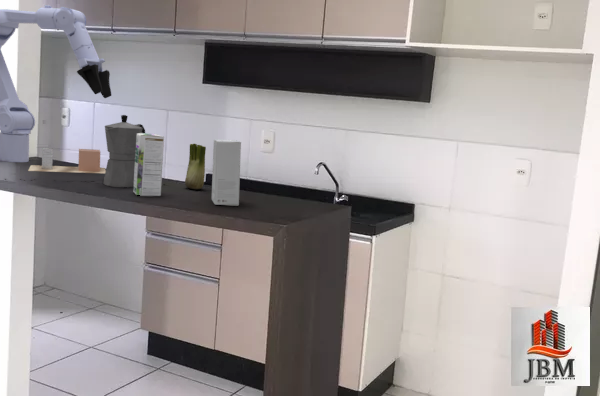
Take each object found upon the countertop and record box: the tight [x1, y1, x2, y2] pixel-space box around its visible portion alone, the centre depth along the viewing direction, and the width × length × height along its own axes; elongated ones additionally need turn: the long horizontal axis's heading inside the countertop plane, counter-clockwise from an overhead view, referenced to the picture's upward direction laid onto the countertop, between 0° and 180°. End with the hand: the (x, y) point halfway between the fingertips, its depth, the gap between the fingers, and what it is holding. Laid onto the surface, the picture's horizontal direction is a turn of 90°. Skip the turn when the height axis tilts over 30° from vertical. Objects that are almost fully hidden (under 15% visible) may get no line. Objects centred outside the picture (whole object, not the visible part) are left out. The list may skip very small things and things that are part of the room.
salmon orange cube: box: [77, 148, 101, 172], centre depth 175 cm, size 6×6×6 cm
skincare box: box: [211, 139, 242, 207], centre depth 145 cm, size 8×6×15 cm
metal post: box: [41, 147, 54, 169], centre depth 172 cm, size 3×3×6 cm
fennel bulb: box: [184, 143, 207, 190], centre depth 162 cm, size 6×5×12 cm
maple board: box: [27, 164, 106, 175], centre depth 174 cm, size 20×12×1 cm, turn 110°
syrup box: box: [132, 132, 165, 197], centre depth 148 cm, size 6×6×14 cm
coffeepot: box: [102, 114, 146, 189], centre depth 160 cm, size 15×9×18 cm, turn 159°
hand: (103, 94), depth 172 cm, fingers open, 7 cm apart
